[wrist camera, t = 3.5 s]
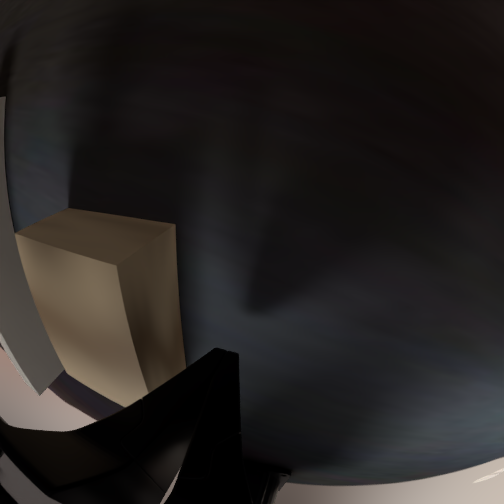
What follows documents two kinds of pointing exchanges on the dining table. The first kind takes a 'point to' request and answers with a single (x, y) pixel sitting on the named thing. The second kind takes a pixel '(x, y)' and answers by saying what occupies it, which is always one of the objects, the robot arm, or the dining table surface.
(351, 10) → the dining table surface
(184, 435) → the robot arm
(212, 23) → the dining table surface
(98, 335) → the maple block
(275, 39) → the dining table surface
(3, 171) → the fence bar
